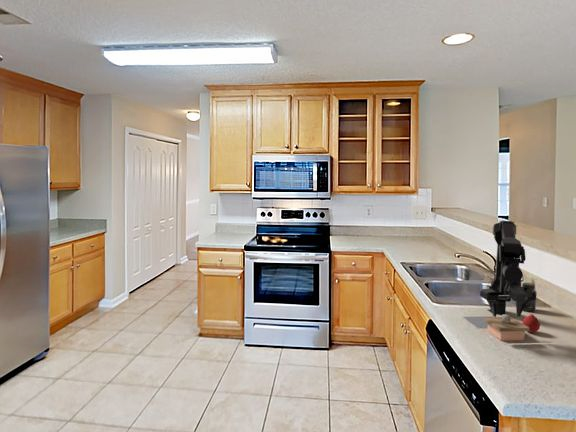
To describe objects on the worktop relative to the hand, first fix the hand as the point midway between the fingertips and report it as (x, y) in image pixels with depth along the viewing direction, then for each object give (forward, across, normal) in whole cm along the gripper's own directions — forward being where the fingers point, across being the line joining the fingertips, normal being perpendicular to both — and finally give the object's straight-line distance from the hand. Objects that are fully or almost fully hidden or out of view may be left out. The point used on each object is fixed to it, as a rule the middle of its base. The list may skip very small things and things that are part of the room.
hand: (506, 316), depth 157 cm
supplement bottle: (+8, +28, +30) cm, 42 cm away
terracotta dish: (+8, 0, 0) cm, 8 cm away
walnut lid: (+4, 0, 0) cm, 4 cm away
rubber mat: (+8, 0, +14) cm, 16 cm away
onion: (+8, +12, +3) cm, 15 cm away
